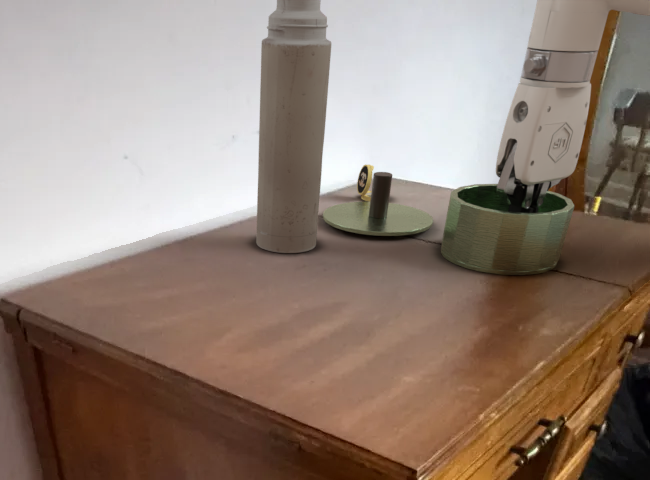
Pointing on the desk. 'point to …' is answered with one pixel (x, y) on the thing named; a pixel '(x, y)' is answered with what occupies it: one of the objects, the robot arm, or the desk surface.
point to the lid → (378, 213)
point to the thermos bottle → (292, 126)
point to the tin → (504, 232)
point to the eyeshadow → (365, 182)
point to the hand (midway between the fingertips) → (516, 237)
